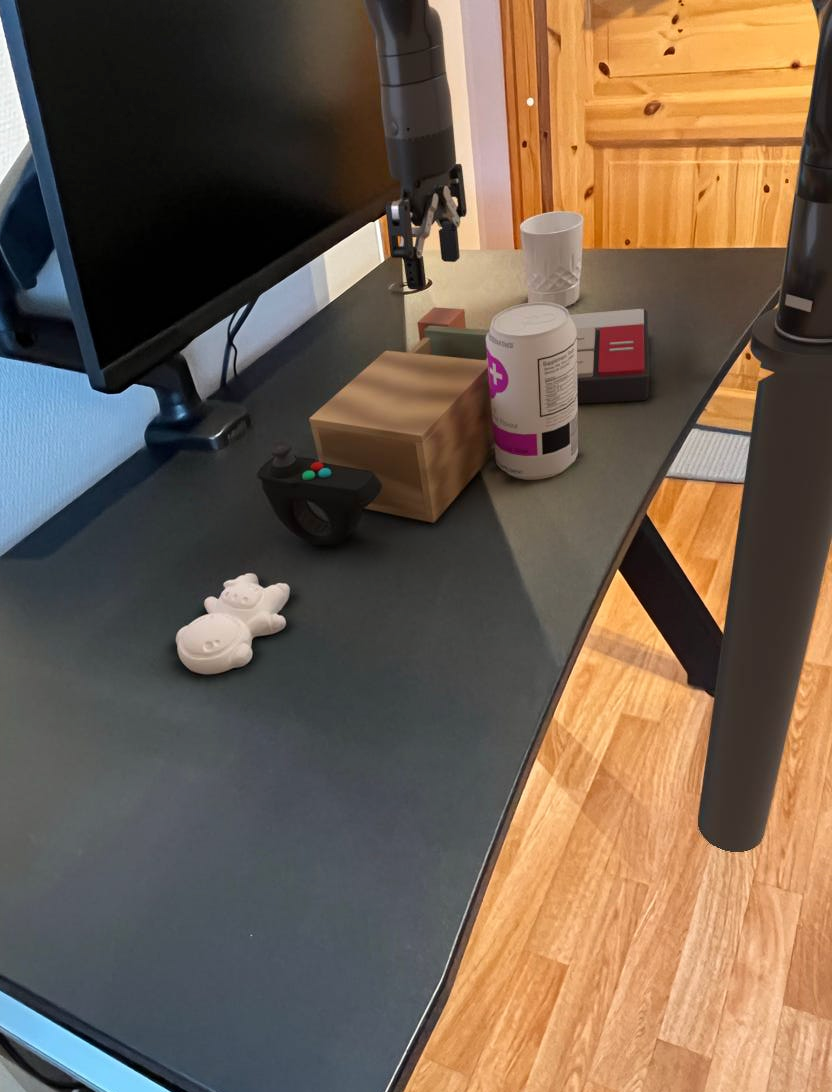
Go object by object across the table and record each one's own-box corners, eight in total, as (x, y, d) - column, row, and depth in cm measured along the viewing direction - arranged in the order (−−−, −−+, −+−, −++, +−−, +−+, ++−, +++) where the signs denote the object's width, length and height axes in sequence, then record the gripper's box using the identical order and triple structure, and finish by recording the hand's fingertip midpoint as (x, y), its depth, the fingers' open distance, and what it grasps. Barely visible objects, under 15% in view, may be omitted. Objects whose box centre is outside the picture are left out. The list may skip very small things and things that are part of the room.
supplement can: (499, 488, 87) (487, 344, 77) (493, 445, 93) (481, 307, 83) (583, 477, 85) (582, 330, 75) (571, 434, 91) (569, 293, 82)
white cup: (556, 283, 121) (554, 207, 114) (596, 296, 115) (596, 217, 109) (511, 303, 119) (507, 227, 112) (550, 317, 113) (548, 238, 107)
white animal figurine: (314, 602, 79) (306, 576, 77) (223, 687, 73) (213, 661, 71) (245, 576, 83) (237, 551, 81) (155, 654, 77) (143, 629, 75)
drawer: (453, 372, 105) (446, 309, 100) (542, 382, 99) (539, 315, 94) (377, 448, 95) (365, 382, 90) (471, 463, 89) (464, 394, 84)
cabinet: (398, 430, 99) (385, 350, 92) (500, 445, 92) (493, 361, 86) (328, 500, 91) (308, 418, 84) (434, 523, 84) (421, 435, 78)
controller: (292, 517, 90) (269, 431, 83) (397, 538, 84) (380, 447, 77) (269, 542, 87) (243, 455, 80) (375, 565, 81) (356, 473, 75)
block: (467, 342, 112) (464, 309, 109) (451, 358, 110) (448, 324, 107) (437, 339, 114) (433, 307, 112) (421, 355, 112) (417, 321, 109)
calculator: (542, 376, 94) (551, 310, 104) (544, 411, 97) (552, 344, 107) (649, 369, 91) (647, 302, 101) (647, 405, 94) (646, 337, 104)
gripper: (416, 144, 89) (433, 300, 100) (478, 104, 97) (488, 252, 108) (355, 146, 93) (378, 296, 104) (420, 107, 101) (435, 250, 112)
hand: (434, 274), depth 106 cm, fingers open, 8 cm apart
